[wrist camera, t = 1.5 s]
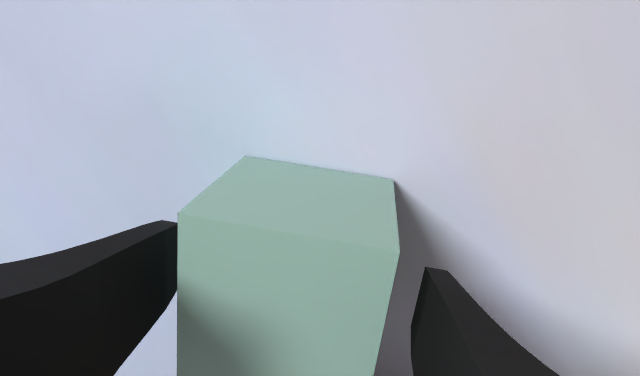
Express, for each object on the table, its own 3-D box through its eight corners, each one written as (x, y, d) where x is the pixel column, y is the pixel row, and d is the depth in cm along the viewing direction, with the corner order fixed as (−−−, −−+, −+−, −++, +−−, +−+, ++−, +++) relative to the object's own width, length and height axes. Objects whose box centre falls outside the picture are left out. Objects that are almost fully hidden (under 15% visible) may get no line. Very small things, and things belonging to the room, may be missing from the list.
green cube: (237, 282, 16) (176, 383, 11) (244, 155, 14) (177, 213, 9) (368, 306, 15) (362, 423, 11) (393, 179, 14) (400, 251, 9)
